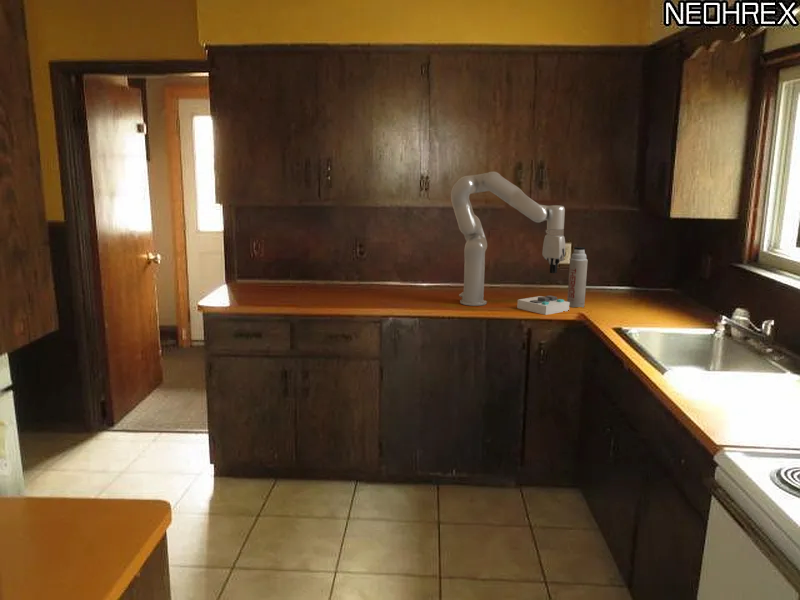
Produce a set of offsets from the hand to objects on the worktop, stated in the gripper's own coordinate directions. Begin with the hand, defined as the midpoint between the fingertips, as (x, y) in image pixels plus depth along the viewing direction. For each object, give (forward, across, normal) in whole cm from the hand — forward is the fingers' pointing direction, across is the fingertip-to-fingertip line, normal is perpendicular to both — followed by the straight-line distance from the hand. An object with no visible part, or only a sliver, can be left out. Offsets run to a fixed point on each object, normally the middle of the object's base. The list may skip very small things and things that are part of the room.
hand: (553, 272), depth 303 cm
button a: (+16, 0, -11) cm, 19 cm away
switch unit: (+16, 0, -6) cm, 17 cm away
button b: (+15, 0, -5) cm, 16 cm away
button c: (+15, 0, 0) cm, 15 cm away
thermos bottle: (+17, +3, +14) cm, 22 cm away
